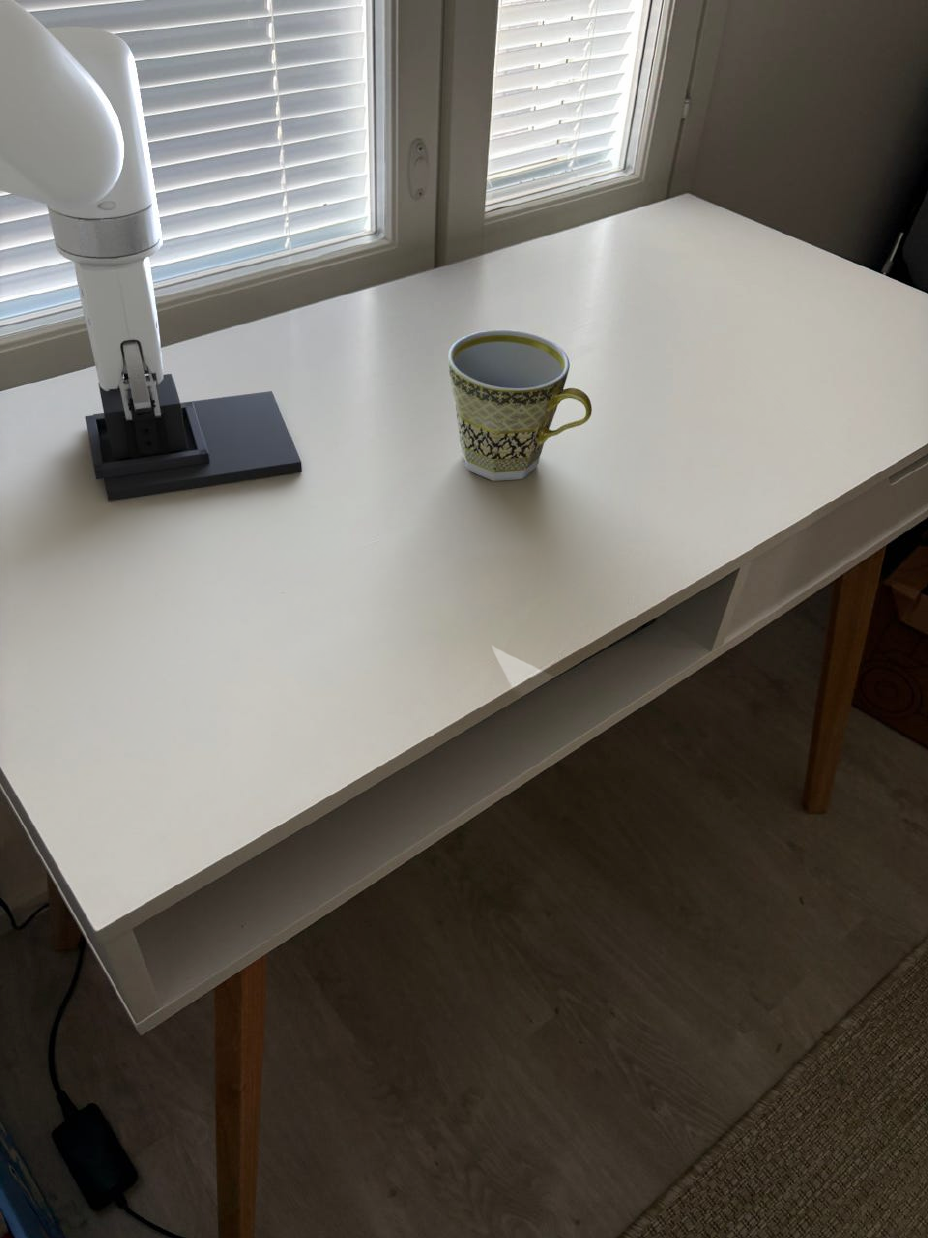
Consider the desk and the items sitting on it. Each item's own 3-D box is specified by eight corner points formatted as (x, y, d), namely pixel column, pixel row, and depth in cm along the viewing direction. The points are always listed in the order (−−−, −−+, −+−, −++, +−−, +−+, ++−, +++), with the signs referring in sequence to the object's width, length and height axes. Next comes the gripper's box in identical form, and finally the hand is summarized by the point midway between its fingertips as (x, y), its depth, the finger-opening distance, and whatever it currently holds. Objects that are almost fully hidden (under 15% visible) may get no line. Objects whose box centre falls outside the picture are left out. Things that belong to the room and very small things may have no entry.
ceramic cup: (420, 464, 88) (424, 361, 81) (482, 416, 95) (491, 317, 88) (548, 521, 83) (563, 416, 77) (604, 467, 90) (623, 365, 83)
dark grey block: (114, 460, 84) (104, 413, 81) (108, 428, 87) (98, 382, 84) (187, 449, 85) (180, 403, 82) (179, 418, 89) (171, 373, 86)
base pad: (100, 502, 82) (95, 482, 81) (87, 424, 90) (83, 404, 89) (302, 471, 87) (300, 451, 85) (272, 400, 95) (271, 381, 93)
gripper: (45, 185, 78) (91, 392, 91) (60, 280, 67) (110, 502, 79) (144, 178, 80) (176, 381, 93) (175, 269, 69) (207, 487, 81)
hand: (145, 435), depth 86 cm, fingers closed on dark grey block, 5 cm apart
